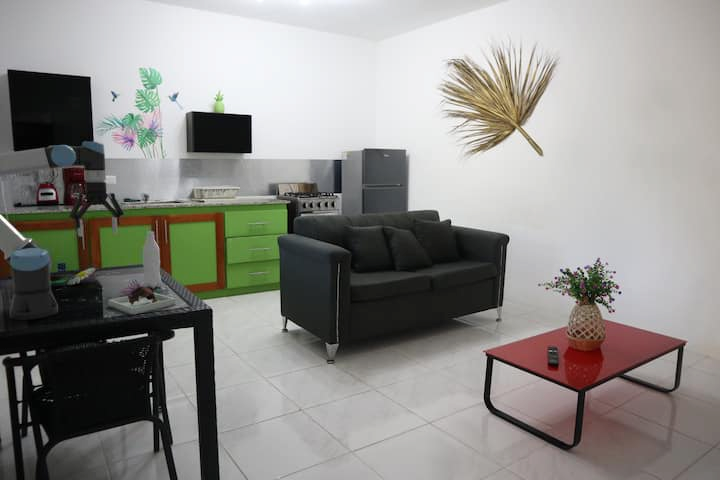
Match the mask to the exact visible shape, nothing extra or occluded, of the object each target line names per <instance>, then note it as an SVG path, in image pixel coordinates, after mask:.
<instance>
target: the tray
mask: <svg viewBox="0 0 720 480" xmlns="http://www.w3.org/2000/svg"><path fill="white" fill-rule="evenodd" d="M130 295H131V294H130ZM154 295H155V298H156V300H157V302H155V303H152V301H153V299H152V300H147V298H146V297H140V296H139V302H138V301H135V302H134V303H133V305H132V304H131V303H129V298H128V296H129V295H126V296H122V297H121V296H120V297H117V298H112V299H111V298H110V299H108V300H107V302H108V304H107V305H108V307H110V308H112V309H115V310H117V311H118V310H119V311H121V312H124V313H127V314H130V315H133V316H134V315H138V313H139V314H142V313H147V312H151V311H154V310H160V309H164V308H169V307H173V306H176V298H174V297H171V296H167V295H164V294H160V293H156V292H154ZM131 296H132V295H131Z"/></svg>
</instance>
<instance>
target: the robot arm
mask: <svg viewBox="0 0 720 480" xmlns="http://www.w3.org/2000/svg"><path fill="white" fill-rule="evenodd" d="M105 155H106V153H105V145H104V143H103V142H101V141H83V142H82V144H81V146H74V145H73V146H72V145H67V144H59V145H49V146H47V147H40V148H33V149H25V150H18V151H10V152H4V153H3V152H2V153H0V177H6V176H11V175H12V176H13V175H18V174H24V173H25V174H26V173H30V172H37V171H44V170H49V169H57V168H65V167H73V166H74V167H77V166H78V167H83V177H84V179H83V180H85V182H84V191H85V194H83V193H77V194H76V199H75V203H74V205H72V208H71V211H70V214H69V216H68V218H69V219H73V220H74V227H75V228H76V229H77V236H78V237H84V230H83V229H84V228H83V219H81V218H82V217H83V216H84V215H85V213H86V212H87V210H88V209H89V208H90V207H91V206H97V205H99V206H100V205H102V206H104V207H105V208H106V209H107V210H108V212H109V213H110V214H111V215H112V217H111V223H112V224H111V227H112V228H111V229H112V233H113V234H119V233H118V230H119V229H118V225H119V226H120V217H122V216H124V214H125V213H124V212H123V210H122V208H121V206H120V204H119V202H118V200H117V199H116V194H115V193H114V192H109V193H107V182H105V181H106V180H107V177H106V174H107V173H106V156H105ZM84 199H85V200H86V201H85V202H84V204H83V205H82V203H83V201H84ZM107 199H109V201H110V202H108V201H107ZM110 203H111V204H112V206H111V205H110ZM81 205H82V207H81ZM80 207H81V208H80ZM0 250H1V251H2V252H3V253H4V255H3V256H4V260H5V261H6V262H7V263H8V264H9V265H10V268H11V269H10V270H11V280H12V290H13V291H12V292H13V293H12V294H13V296H12V300H11V304H10V307H9V310H8V313H9V316H8V317H9V318H10V319H12V320H19V321H25V320H27V321H28V320H36V319H41V318H47V317H50V316H54V315H55V314H58V312H59V305H58V303H57V301H56V299H55V296H54V294H53V292H52V284H51V282H52V281H51V269H52V266H53V257H52V255H51V253H50V252H49V251H48V250H47V249H46V248H44V247H42V246H40V245H39V244H38V243H37V242H36V241H35V240H34V239H33V238H31V237H25V236H24V235H23V234H22V233H21V232H19V230H17V229H16V227H15V226H14V225H12V223H11V222H9V221H8V220H7V219H6V218H5V216H3V215H2V214H1V213H0Z"/></svg>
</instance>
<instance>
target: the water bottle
mask: <svg viewBox="0 0 720 480" xmlns="http://www.w3.org/2000/svg"><path fill="white" fill-rule="evenodd" d="M155 237H156V236H155V232H154V231H151V230H150V231H146V235H145V238H146V240H145V243H144V244H143V246H142V266H143V271H144V275H143V286H145V288H146V287H148V286H150V287H152V288H153V289H155V288H160V286H161V283H162V277H161V273H160V267H161V257H160V256H161V255H160V252H161V250H160V247H159V245H158V243H157V242H156V240H155Z"/></svg>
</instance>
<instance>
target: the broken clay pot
mask: <svg viewBox="0 0 720 480" xmlns="http://www.w3.org/2000/svg"><path fill="white" fill-rule="evenodd" d="M154 291H155V290H154V288H152V287H150V286H148V287H145V285H142V286H139V287H137V288H136V289H134V290H133V291H132V292H131V293H130V294H129V295H127V296H128V298H129V303H131V304H132V305H133V303H134V302H135V301H138V302H139V296H140V297H146V298H147V300H152V299H153V301H152V303H155V302H157V300H156V298H155V295H154V293H155V292H154ZM131 295H132V296H131Z"/></svg>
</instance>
